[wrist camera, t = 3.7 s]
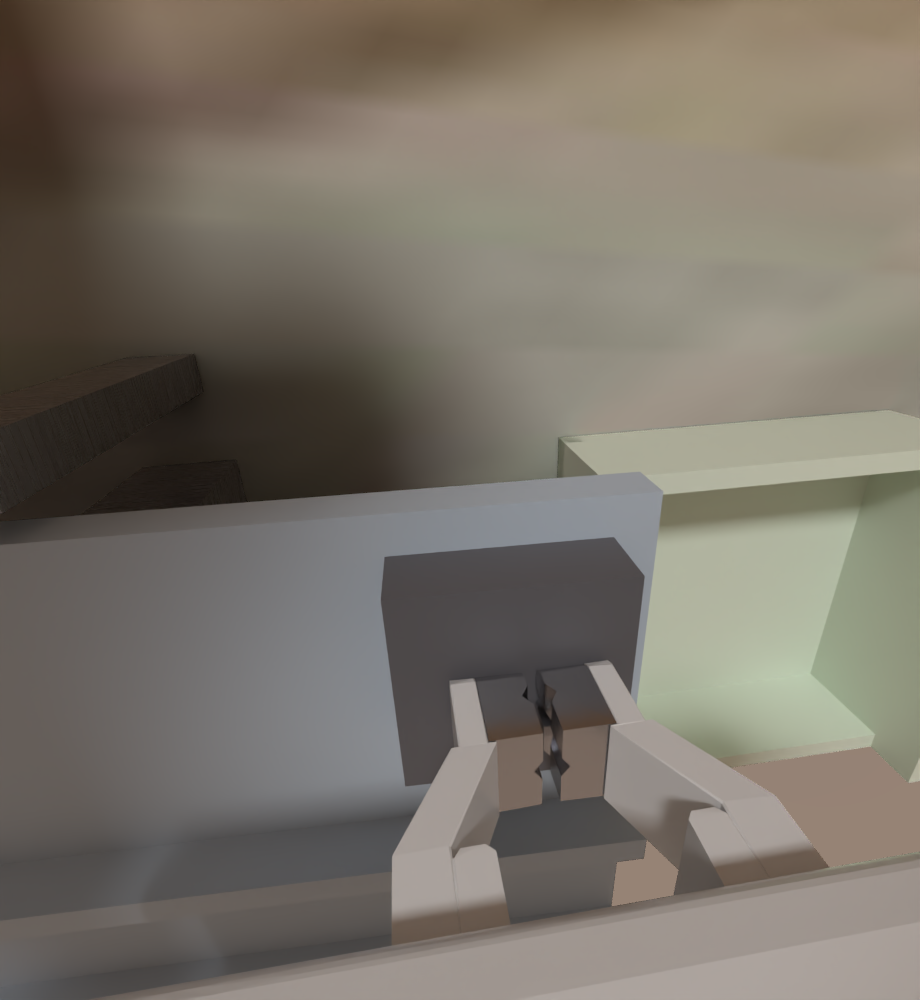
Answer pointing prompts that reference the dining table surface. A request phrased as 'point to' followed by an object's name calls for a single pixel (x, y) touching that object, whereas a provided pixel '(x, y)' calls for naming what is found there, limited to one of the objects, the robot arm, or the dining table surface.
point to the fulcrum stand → (107, 435)
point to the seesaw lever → (285, 716)
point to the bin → (780, 583)
